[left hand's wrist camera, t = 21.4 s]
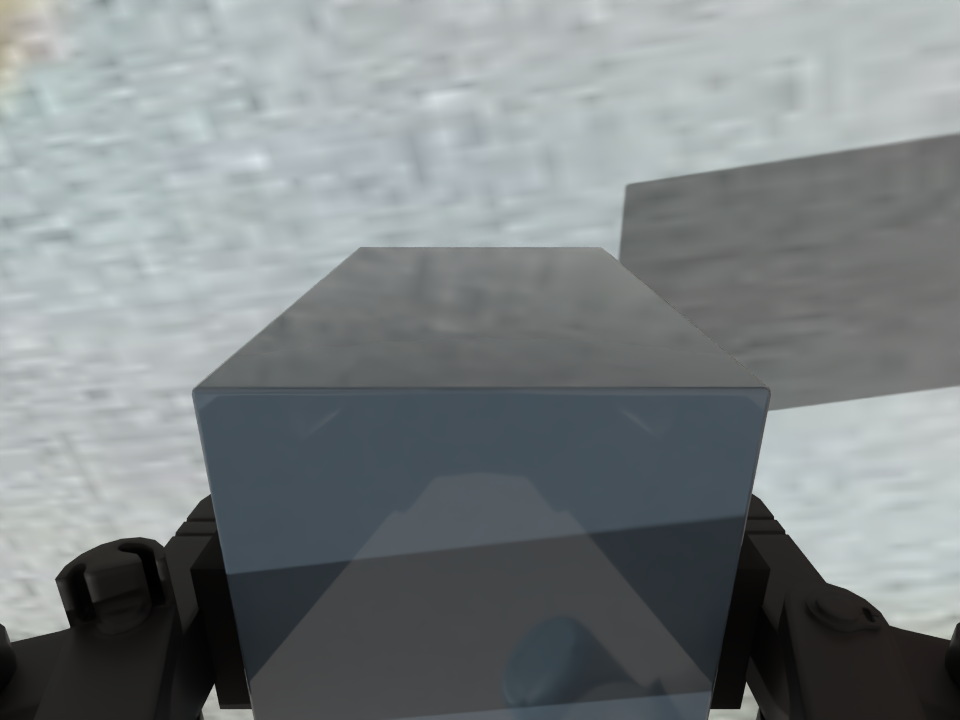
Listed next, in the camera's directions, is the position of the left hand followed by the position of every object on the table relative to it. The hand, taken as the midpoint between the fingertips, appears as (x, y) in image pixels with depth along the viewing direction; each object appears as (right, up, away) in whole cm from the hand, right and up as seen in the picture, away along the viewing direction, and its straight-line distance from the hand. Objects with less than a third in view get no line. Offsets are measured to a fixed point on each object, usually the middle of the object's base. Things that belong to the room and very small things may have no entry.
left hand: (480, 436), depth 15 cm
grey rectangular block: (0, +1, +3) cm, 3 cm away
